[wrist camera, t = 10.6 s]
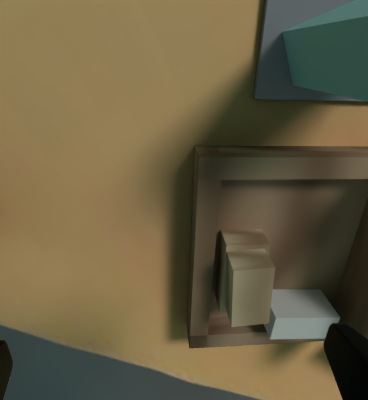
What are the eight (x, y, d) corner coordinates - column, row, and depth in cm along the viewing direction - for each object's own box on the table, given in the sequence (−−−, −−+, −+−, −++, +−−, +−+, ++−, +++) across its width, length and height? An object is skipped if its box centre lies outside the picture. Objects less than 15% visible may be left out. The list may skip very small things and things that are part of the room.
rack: (186, 324, 26) (196, 408, 20) (194, 146, 19) (213, 189, 13) (338, 316, 28) (392, 394, 21) (396, 146, 21) (502, 186, 14)
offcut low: (214, 293, 24) (219, 312, 22) (220, 229, 22) (226, 245, 20) (250, 291, 24) (258, 310, 23) (261, 228, 22) (270, 244, 20)
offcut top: (225, 305, 22) (231, 327, 20) (226, 251, 20) (233, 271, 18) (259, 301, 22) (268, 323, 20) (264, 248, 20) (275, 267, 18)
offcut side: (257, 309, 25) (269, 339, 23) (262, 289, 24) (276, 318, 22) (313, 308, 26) (331, 338, 23) (320, 289, 25) (340, 317, 22)
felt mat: (253, 98, 18) (255, 99, 18) (270, -45, 15) (273, -48, 15) (390, 100, 19) (394, 101, 19) (432, -35, 16) (439, -37, 16)
